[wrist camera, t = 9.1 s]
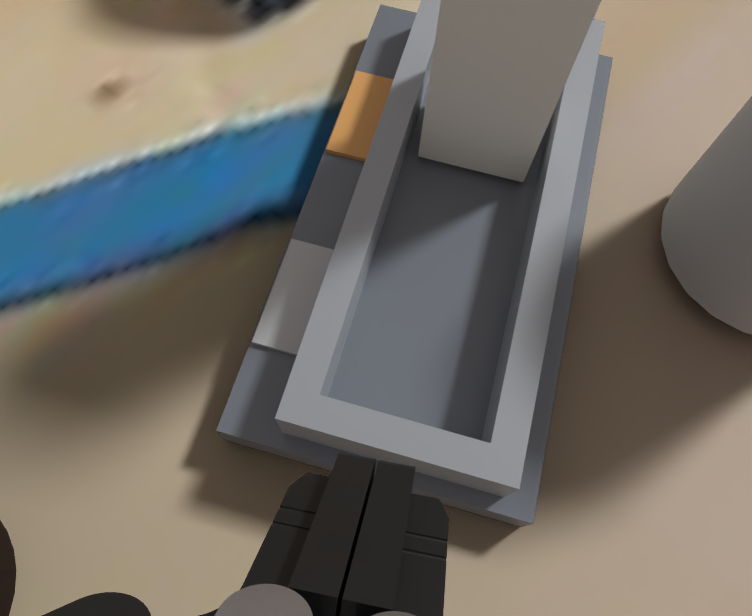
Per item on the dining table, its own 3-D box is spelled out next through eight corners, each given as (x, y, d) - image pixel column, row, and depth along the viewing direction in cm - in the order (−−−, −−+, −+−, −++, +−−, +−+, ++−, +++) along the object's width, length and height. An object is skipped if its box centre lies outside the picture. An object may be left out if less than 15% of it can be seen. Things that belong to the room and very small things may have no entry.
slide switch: (520, 526, 20) (552, 518, 17) (225, 439, 21) (200, 415, 17) (599, 83, 27) (632, 17, 24) (379, 32, 28) (382, -38, 25)
